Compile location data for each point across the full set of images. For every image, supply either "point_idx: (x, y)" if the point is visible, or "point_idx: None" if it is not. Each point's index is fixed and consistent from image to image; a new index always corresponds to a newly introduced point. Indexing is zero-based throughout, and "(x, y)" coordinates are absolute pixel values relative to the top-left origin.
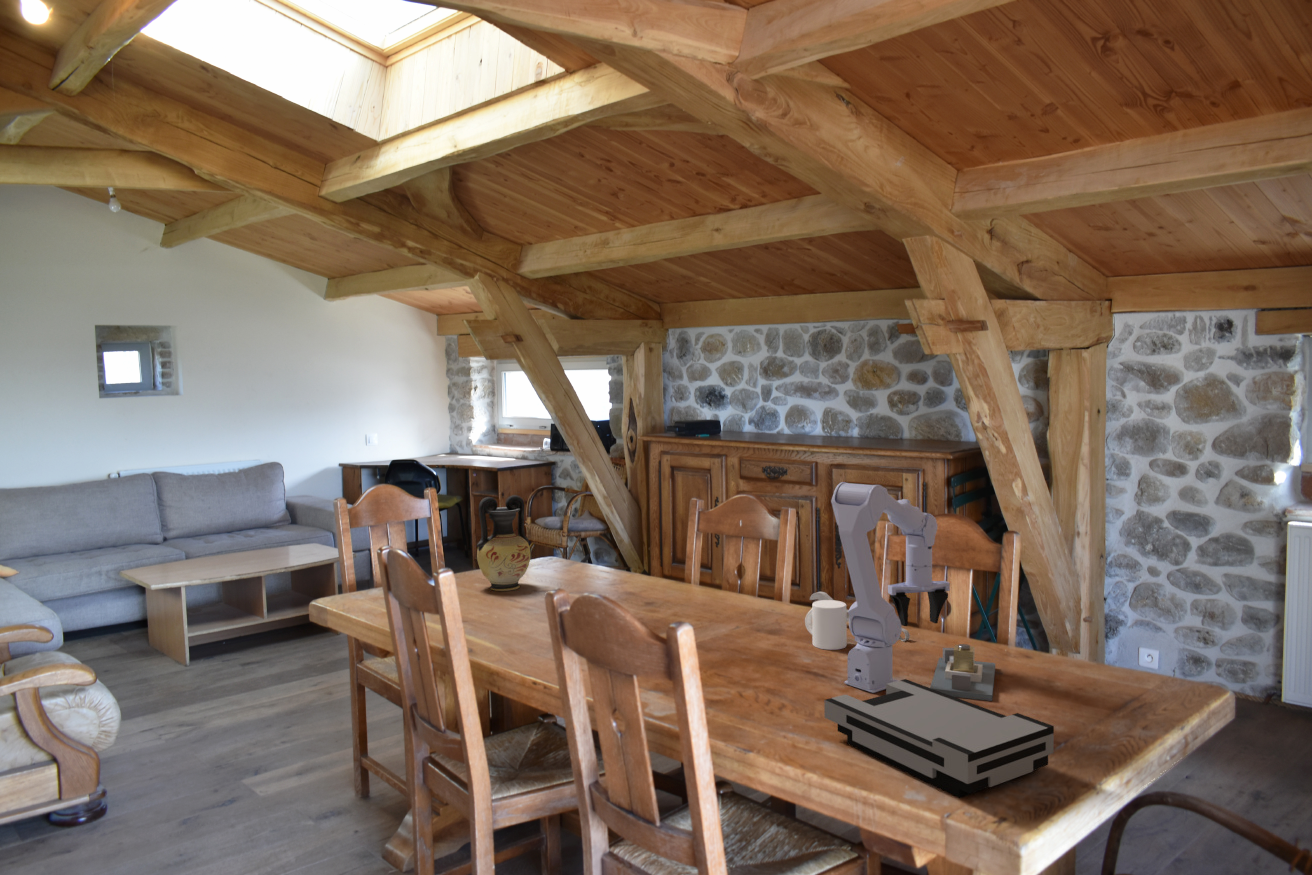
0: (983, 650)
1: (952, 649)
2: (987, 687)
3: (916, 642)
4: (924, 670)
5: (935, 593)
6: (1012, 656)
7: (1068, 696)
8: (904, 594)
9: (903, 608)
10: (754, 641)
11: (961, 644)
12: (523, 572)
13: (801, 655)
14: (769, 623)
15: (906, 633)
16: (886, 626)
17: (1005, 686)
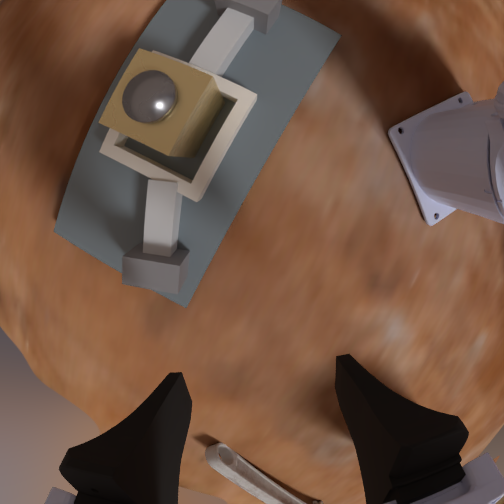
0: (63, 357)
1: (149, 269)
2: (166, 19)
3: (195, 433)
4: (265, 238)
5: (141, 501)
6: (18, 305)
7: (24, 33)
8: (404, 488)
9: (405, 400)
10: (474, 424)
11: (151, 113)
12: (502, 500)
13: (470, 369)
14: None
15: (213, 455)
16: None
17: (97, 77)
